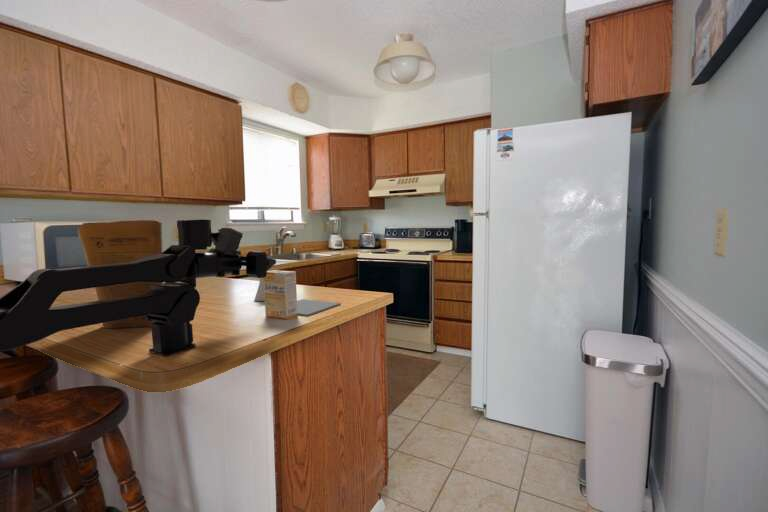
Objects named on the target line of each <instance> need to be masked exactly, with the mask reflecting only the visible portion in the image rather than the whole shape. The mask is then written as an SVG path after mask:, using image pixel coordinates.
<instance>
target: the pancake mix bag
mask: <svg viewBox="0 0 768 512" xmlns="http://www.w3.org/2000/svg"><path fill="white" fill-rule="evenodd" d="M162 224H163V222H160V221H158V220H153V219H152V220H143V219H141V220H140V219H139V220H120V221H118V220H117V221H108V222H106V221H105V222H104V221H102V222H99V221H98V222H84V223H82V225H81V226H77V236H78V240H79V241H80V244H81V247H82V250H83V253H84V257H85V261H86V266H95V265H105V264H116V263H126V262H131V261H134V260H137V259H140V258H143V257H147V256H151V255H155V254H161V253H162V252H163V232H162V229H163V227H162V226H163V225H162ZM150 284H164V282H141V281H138V282H130V283H123V284H116V285H109V286H102V287H94V289H95V293H96V297H97V301H99V300H106V299H114V298H121V297H128V296H135V295H141V294H144V293H147V292H149V291H151V290H150V286H149V285H150ZM152 323H155V322H153V321H148V320H147V318H146V316H145V315H142V316H137V317H131V318H126V319H121V320H116V321H110V322H105V323H102V327H103V328H104V329H107V330H109V329H110V330H111V329H124V328H125V329H128V328H151V324H152Z"/></svg>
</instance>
